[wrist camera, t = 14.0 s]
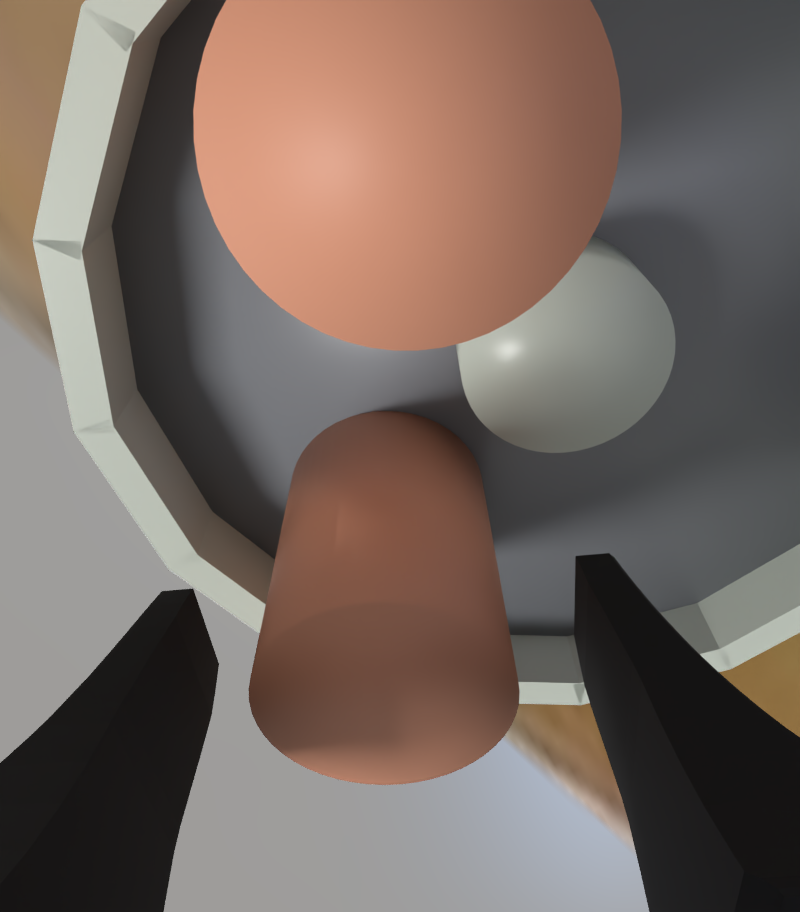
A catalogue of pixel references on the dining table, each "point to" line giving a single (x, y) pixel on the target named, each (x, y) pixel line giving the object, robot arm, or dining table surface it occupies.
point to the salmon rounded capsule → (407, 157)
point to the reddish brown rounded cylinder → (385, 609)
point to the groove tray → (534, 498)
